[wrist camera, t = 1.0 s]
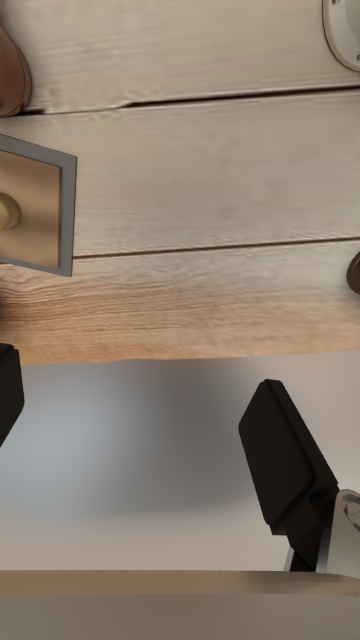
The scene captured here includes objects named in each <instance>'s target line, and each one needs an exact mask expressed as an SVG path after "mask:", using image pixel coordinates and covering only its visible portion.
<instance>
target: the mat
mask: <svg viewBox="0 0 360 640" xmlns="http://www.w3.org/2000/svg"><path fill="white" fill-rule="evenodd" d="M0 149H1V150H5V151H8V152H11V153H15V154H18V155H22V156H25V157H29V158H32V159H36V160H39V161H43V162H46V163H50V164H53V165H57V166H60V167H63V169H62V223H61V266H60V267H59V268H58V269H56V268H52V267H47V266H43V265H39V264H34V263H30V262H25V261H21V260H16V259H12V258H7V257H3V256H0V262H4V263H8V264H13V265H17V266H22V267H26V268H31V269H35V270H40V271H44V272H49V273H53V274H58V275H62V276H67V277H72V261H73V238H74V215H75V192H76V169H77V157H75V156H72V155H69V154H65V153H62V152H59V151H55V150H52V149H49V148H45V147H42V146H38V145H35V144H32V143H28V142H25V141H22V140H18V139H15V138H12V137H8V136H5V135H1V134H0Z"/></svg>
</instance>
